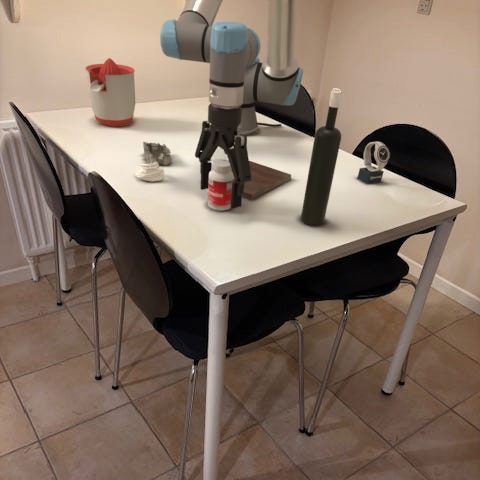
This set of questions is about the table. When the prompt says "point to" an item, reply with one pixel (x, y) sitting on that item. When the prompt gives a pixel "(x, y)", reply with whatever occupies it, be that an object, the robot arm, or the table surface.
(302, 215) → the wine bottle
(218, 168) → the pill bottle
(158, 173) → the cream folded ring
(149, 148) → the egg carton
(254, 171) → the walnut board
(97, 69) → the citrus juicer
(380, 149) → the watch
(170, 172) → the table surface
